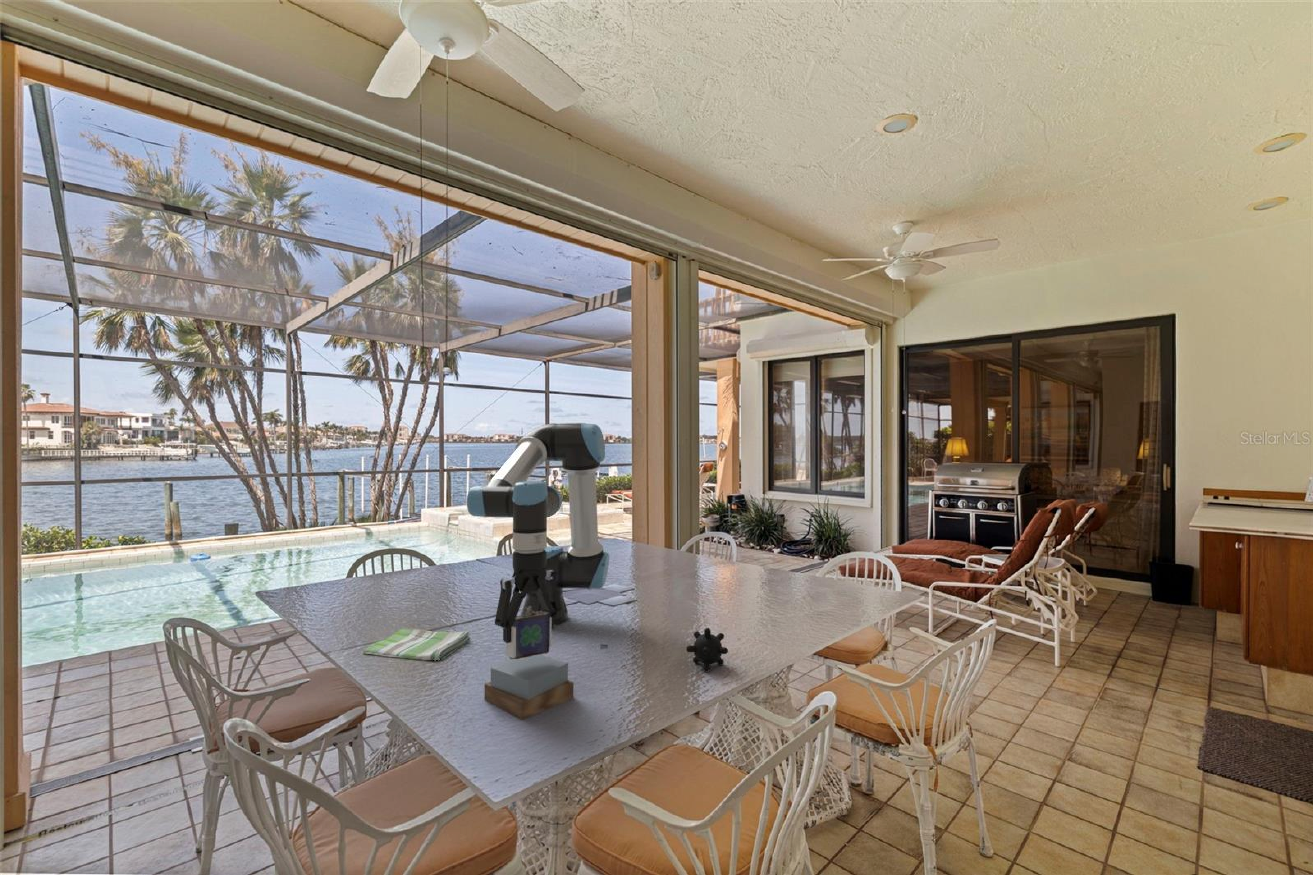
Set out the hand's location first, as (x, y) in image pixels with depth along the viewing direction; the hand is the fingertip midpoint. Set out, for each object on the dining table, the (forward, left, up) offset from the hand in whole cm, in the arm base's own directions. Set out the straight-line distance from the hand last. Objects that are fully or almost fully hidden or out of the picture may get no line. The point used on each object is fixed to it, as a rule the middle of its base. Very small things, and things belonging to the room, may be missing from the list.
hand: (529, 650), depth 127 cm
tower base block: (0, 0, -11) cm, 11 cm away
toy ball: (-42, +18, -11) cm, 47 cm away
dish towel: (+2, -49, -12) cm, 51 cm away
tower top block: (0, 0, -7) cm, 7 cm away
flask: (0, 0, -1) cm, 1 cm away
